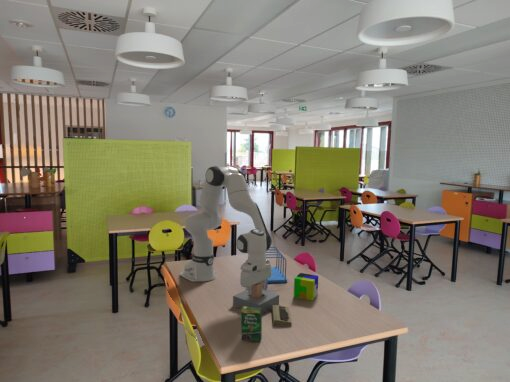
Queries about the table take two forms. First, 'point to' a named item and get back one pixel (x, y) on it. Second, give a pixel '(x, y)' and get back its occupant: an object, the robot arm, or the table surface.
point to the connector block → (257, 290)
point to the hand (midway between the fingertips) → (256, 291)
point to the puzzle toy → (306, 286)
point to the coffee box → (251, 324)
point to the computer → (281, 316)
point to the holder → (256, 300)
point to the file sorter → (277, 269)
